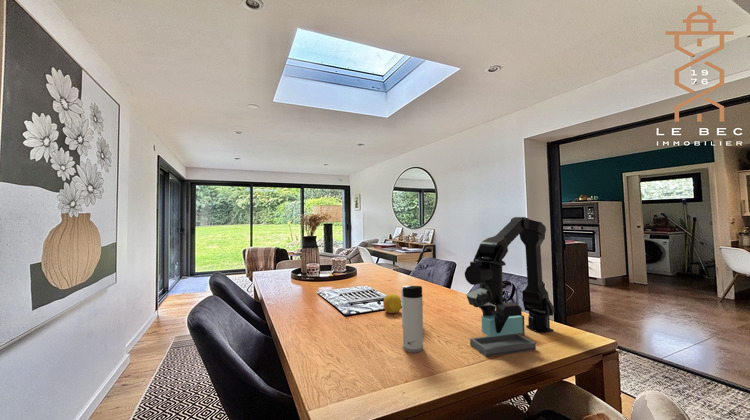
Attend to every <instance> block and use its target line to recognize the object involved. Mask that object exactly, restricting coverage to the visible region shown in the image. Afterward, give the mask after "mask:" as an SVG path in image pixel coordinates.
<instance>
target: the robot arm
mask: <svg viewBox="0 0 750 420" xmlns="http://www.w3.org/2000/svg"><path fill="white" fill-rule="evenodd" d="M546 231H547V227H546V226H545V224H543V222H542V221H536V220H533V219H529V218H528V217H526V216H518V217H517V216H514V217H512V218H511V219H510V221H509V222H508V223H507V224H506V225H505V226H504V227H503V228H502V229H501V230H500V231H499V232H498V233H497V234H495V235H493V236H490V237H487V238H485V239H484V240H482V241H481V242H480V243H479V246H478V249H477V251H476V254H475V255H474V257H473V261H469V266H467V267H466V268H465V271H464V278H465V280H466V282H467V283H468V284H470V285H471V286H477V285H479V288H477V289H474V290H472V291H470V292H468V293H467V294H466V298H467V301H468V304H469V305H471V306H473V307H475V308H479V309H480V310H481V312H482V316H483V315H484V316H491V315H494V316H495V326H496V332H497V333H500V332H501V330H502V328H503V326H504V324H505V322H506V321H507V319H508V318H509V317H510V316H519V315H523V314H522V313H523V312H522V307H521V306H520V305H519V304H517V303H514V302H512V301H511V302H510V301H509V302H508V301H507V298H506V297H505V296H504V289H506V287H507V285H506V284H504V283H503V281H504V279H503V266H507V265H506V262H505V261H503V259H504V258H505V257H506V255H507V254H508V252H509V245H510V244H511V243H512V242H513V241H514V240H515V239H516V238H517V237H518V236H519V239H520V241H521V242H522V243H523V245H524V246H525V263H526V278H527V281H526V282H527V283H526V286H525V289H523V290H522V291H521V295H522V304H523V309H524V311H527V312H528V317H527V318H528V319H527V320H528V322H527V323H528V324H526V325H525V327H526V328H529V329H530V330H532V331H534V332H536V333H540V334H541V333H548V332H554V329H553V328H551V327H550V316H552V317H553V316H554V314H555V309H556V308H555V306H554V305H553V303H552V302H551V300H550V297H549V292H548V291H547V289H546V288H545V286H544V285H543V271H542V270H543V268H542V253H541V252H542V251H541V250H542V249H541V246H542V244H543V242H544V241H545V239H546Z"/></svg>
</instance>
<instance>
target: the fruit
mask: <svg viewBox="0 0 750 420" xmlns="http://www.w3.org/2000/svg"><path fill="white" fill-rule="evenodd" d="M382 304H383V308H384V310H385V312H387V313H389V314H396V313H399V312H400V311H401V310H402V298H401V297H400V296H399V295H398V294H396V293H389V294H386V295H385V297H383V303H382Z"/></svg>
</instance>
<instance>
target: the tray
mask: <svg viewBox="0 0 750 420" xmlns="http://www.w3.org/2000/svg"><path fill="white" fill-rule="evenodd" d="M469 344H470V345H469V346H470V347H472V348H473V349H475V350H476V351H477V352H479V353H480V354H481V355H483V356H485V357H486V358H489V357H497V356H502V355H512V354H517V353H525V352H532V351H536V350H537V347H536V346H537V345H536V342H535V341H533V340H531V339H529V338H527V337H526V336H521V335H519V334H518V333H517V334H509V335H501V336H493V337H489V336H488V335H485V336H480V337H478V336H477V337H472V338H471V337H470V338H469Z"/></svg>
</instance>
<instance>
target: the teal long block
mask: <svg viewBox="0 0 750 420" xmlns="http://www.w3.org/2000/svg"><path fill="white" fill-rule="evenodd" d="M481 333H482V334H484V335H485V336H489V337H493V336H501V335H509V334H517V333H523V322H522V317H521V316H510V317H509V318H508V319H507V321H506V322H505V324H504V326H503V328H502V330H501V332H500V333H497V332H496V326H495V316H494V315H491V316H483V315H482V316H481Z"/></svg>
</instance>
